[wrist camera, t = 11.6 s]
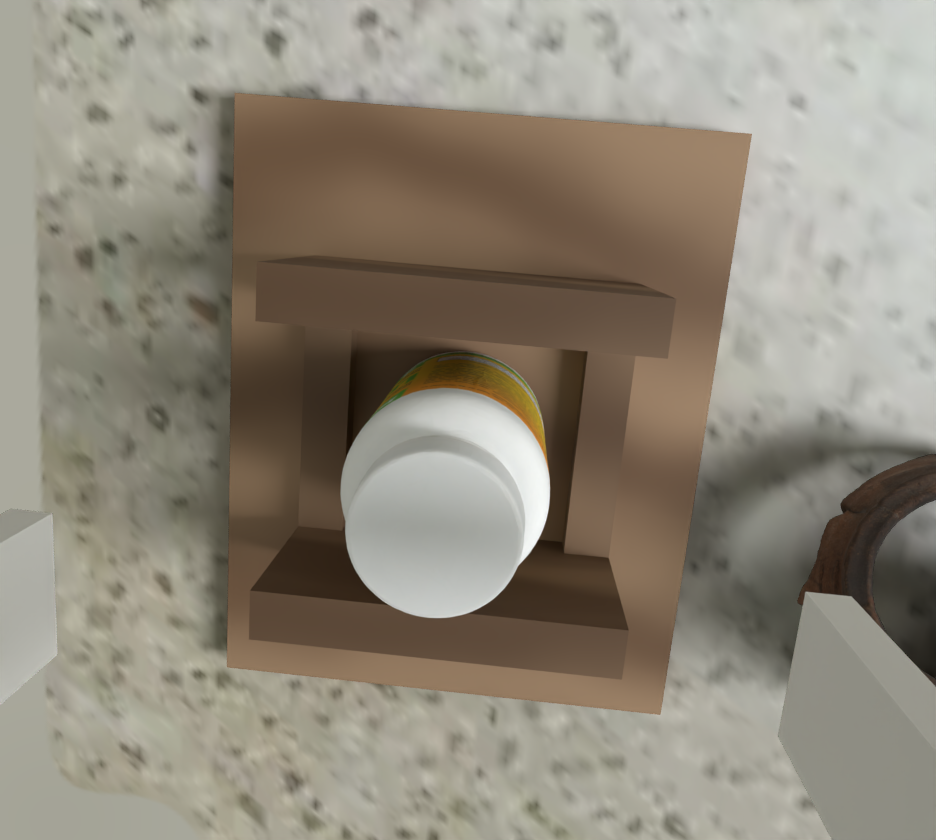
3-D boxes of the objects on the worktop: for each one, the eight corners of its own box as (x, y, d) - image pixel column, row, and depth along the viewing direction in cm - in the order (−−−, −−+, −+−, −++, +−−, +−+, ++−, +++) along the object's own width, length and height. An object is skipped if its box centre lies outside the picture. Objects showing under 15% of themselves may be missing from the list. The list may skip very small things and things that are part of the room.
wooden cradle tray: (655, 698, 30) (696, 836, 23) (236, 653, 30) (155, 774, 24) (742, 137, 25) (826, 102, 18) (245, 98, 26) (147, 49, 19)
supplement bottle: (409, 326, 26) (348, 384, 17) (565, 377, 26) (591, 463, 17) (365, 475, 27) (284, 606, 18) (513, 523, 28) (510, 678, 18)
